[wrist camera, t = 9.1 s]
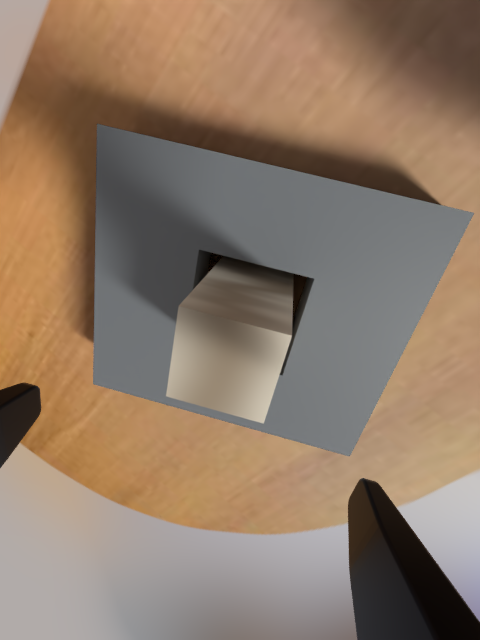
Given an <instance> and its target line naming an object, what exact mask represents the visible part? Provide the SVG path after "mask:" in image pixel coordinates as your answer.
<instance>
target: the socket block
mask: <svg viewBox="0 0 480 640" xmlns="http://www.w3.org/2000/svg"><path fill="white" fill-rule="evenodd" d="M473 215H474V213H472V212H468V211H463V210H459V209H455V208H451V207H447V206H442V205H438V204H434V203H430V202H425V201H421V200H417V199H413V198H409V197H404V196H400V195H396V194H392V193H387V192H383V191H379V190H375V189H371V188H366V187H362V186H358V185H354V184H349V183H345V182H341V181H337V180H333V179H328V178H324V177H320V176H316V175H311V174H307V173H303V172H299V171H295V170H290V169H286V168H282V167H278V166H273V165H269V164H265V163H261V162H257V161H252V160H248V159H244V158H240V157H235V156H231V155H227V154H223V153H219V152H214V151H210V150H206V149H202V148H197V147H193V146H189V145H185V144H181V143H176V142H172V141H168V140H164V139H159V138H155V137H151V136H147V135H143V134H138V133H134V132H130V131H126V130H121V129H117V128H113V127H109V126H105V125H100V124H97V157H96V226H95V294H94V362H93V384H95V385H98V386H102V387H105V388H109V389H113V390H116V391H120V392H123V393H127V394H130V395H134V396H137V397H141V398H144V399H148V400H151V401H155V402H159V403H162V404H166V405H169V406H173V407H176V408H180V409H183V410H187V411H190V412H194V413H197V414H201V415H205V416H208V417H212V418H215V419H219V420H222V421H226V422H229V423H233V424H236V425H240V426H243V427H247V428H251V429H254V430H258V431H261V432H265V433H268V434H272V435H275V436H279V437H282V438H286V439H289V440H293V441H297V442H300V443H304V444H307V445H311V446H314V447H318V448H321V449H325V450H328V451H332V452H335V453H339V454H343V455H346V456H350V455H351V453H352V451H353V449H354V447H355V445H356V443H357V441H358V439H359V437H360V435H361V433H362V431H363V429H364V427H365V425H366V424H367V422H368V420H369V418H370V416H371V414H372V412H373V410H374V408H375V406H376V404H377V402H378V400H379V398H380V396H381V394H382V392H383V390H384V388H385V386H386V384H387V382H388V381H389V379H390V377H391V375H392V373H393V371H394V369H395V367H396V365H397V363H398V361H399V359H400V357H401V355H402V353H403V351H404V349H405V347H406V345H407V343H408V341H409V340H410V338H411V336H412V334H413V332H414V330H415V328H416V326H417V324H418V322H419V320H420V318H421V316H422V314H423V312H424V310H425V308H426V306H427V304H428V302H429V300H430V298H431V297H432V295H433V293H434V291H435V289H436V287H437V285H438V283H439V281H440V279H441V277H442V275H443V273H444V271H445V269H446V267H447V265H448V263H449V261H450V259H451V257H452V256H453V254H454V252H455V250H456V248H457V246H458V244H459V242H460V240H461V238H462V236H463V234H464V232H465V230H466V228H467V226H468V224H469V222H470V220H471V218H472V216H473ZM211 253H215V254H219V255H223V256H227V257H231V258H235V259H239V260H243V261H247V262H250V263H254V264H258V265H262V266H266V267H270V268H274V269H278V270H282V271H286V272H290V273H294V274H298V275H302V276H306V277H307V279H306V282H305V285H304V289H303V292H302V295H301V298H300V301H299V304H298V307H297V310H296V314H295V317H294V320H293V323H292V338H291V341H290V344H289V347H288V350H287V353H286V356H285V359H284V362H283V365H282V369H281V372H280V375H279V378H278V381H277V384H276V387H275V390H274V393H273V396H272V400H271V403H270V406H269V409H268V412H267V415H266V418H265V421H264V424H263V423H259V422H256V421H252V420H249V419H245V418H242V417H238V416H235V415H231V414H227V413H224V412H220V411H217V410H213V409H210V408H206V407H202V406H199V405H195V404H192V403H188V402H185V401H181V400H177V399H174V398H170V397H167V396H166V393H167V386H168V378H169V371H170V364H171V357H172V350H173V343H174V335H175V328H176V321H177V314H178V307H179V305H180V304H181V303H182V302H183V300H184V299H185V298H186V297H187V296H188V295H189V294H190V293H191V292H192V290H193V289H194V288H195V287H196V286H197V285H198V284H199V283H200V282H201V280H202V279H203V278H204V277H205V276H206V275H207V273H208V267H209V261H210V256H211Z"/></svg>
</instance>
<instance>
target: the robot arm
mask: <svg viewBox="0 0 480 640" xmlns="http://www.w3.org/2000/svg"><path fill="white" fill-rule="evenodd" d="M40 412H41V399H40V389H39V388H38V386H35V385H32V384H28V383H20V384H17V385H14V386H11V387H8V388H5V389H2V390H0V468H1V467H2V465H3V464H4V462H5V461H6V460H7V459H8V458H9V456H10V455H11V453H12V452H13V451H14V449H15V448H16V447H17V445H18V444H19V443H20V441H21V440H22V439H23V437H24V436H25V434H26V433H27V432H28V430H29V429H30V428H31V426H32V425H33V424H34V422H35V421H36V419H37V418H38V416H39V415H40ZM348 529H349V530H348V531H349V570H350V581H351V590H352V598H353V607H354V615H355V623H356V632H357V640H480V622H479V620H478V619H477V618H476V616H475V615H474V613H473V612H472V611H471V609H470V608H469V607H468V605H467V604H466V602H465V601H464V600H463V598H462V597H461V596H460V594H459V593H458V592H457V590H456V589H455V588H454V586H453V585H452V583H451V582H450V581H449V579H448V578H447V577H446V575H445V574H444V572H443V571H442V570H441V568H440V567H439V565H438V564H437V563H436V561H435V560H434V559H433V557H432V556H431V555H430V553H429V552H428V551H427V549H426V548H425V546H424V545H423V544H422V542H421V541H420V539H419V538H418V537H417V535H416V534H415V533H414V531H413V530H412V529H411V527H410V526H409V524H408V523H407V522H406V520H405V519H404V518H403V516H402V515H401V514H400V512H399V511H398V509H397V508H396V507H395V505H394V504H393V502H392V501H391V500H390V498H389V497H388V496H387V494H386V493H385V492H384V490H383V489H382V487H381V486H380V485H379V484H378V483H377V482H375V481H372V480H368V479H365V478H362V479H360V480H359V481H358V483H357V485H356V487H355V489H354V491H353V492H352V494H351V496H350V498H349V502H348Z"/></svg>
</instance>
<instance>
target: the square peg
mask: <svg viewBox="0 0 480 640" xmlns="http://www.w3.org/2000/svg"><path fill="white" fill-rule="evenodd" d="M293 278H294V273H290V272H286V271H282V270H278V269H274V268H270V267H266V266H262V265H258V264H254V263H250V262H247V261H243V260H239V259H235V258H231V257H227V256H223V257H222V258H221V259H220V261H219V262H218V263H217V264H216V265H215V266H214V267H213V268H212V269H211V271H210V272H209V273H208V274H207V275H206V276H205V277H204V278H203V279H202V280H201V282H200V283H199V284H198V285H197V286H196V287H195V288H194V289H193V290H192V292H191V293H190V294H189V295H188V296H187V297H186V298H185V299H184V300H183V302H182V303H181V304H180V305H179V307H178V314H177V321H176V328H175V335H174V343H173V350H172V357H171V364H170V371H169V378H168V386H167V393H166V396H167V397H170V398H174V399H177V400H181V401H185V402H188V403H192V404H195V405H199V406H202V407H206V408H210V409H213V410H217V411H220V412H224V413H227V414H231V415H235V416H238V417H242V418H245V419H249V420H252V421H256V422H259V423H263V424H264V421H265V418H266V415H267V412H268V409H269V406H270V403H271V400H272V396H273V393H274V390H275V387H276V384H277V381H278V378H279V375H280V372H281V369H282V365H283V362H284V359H285V356H286V353H287V350H288V347H289V344H290V341H291V338H292V319H293Z"/></svg>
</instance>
